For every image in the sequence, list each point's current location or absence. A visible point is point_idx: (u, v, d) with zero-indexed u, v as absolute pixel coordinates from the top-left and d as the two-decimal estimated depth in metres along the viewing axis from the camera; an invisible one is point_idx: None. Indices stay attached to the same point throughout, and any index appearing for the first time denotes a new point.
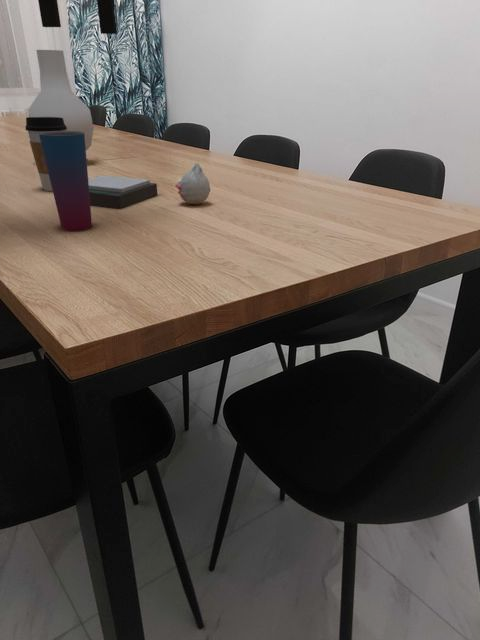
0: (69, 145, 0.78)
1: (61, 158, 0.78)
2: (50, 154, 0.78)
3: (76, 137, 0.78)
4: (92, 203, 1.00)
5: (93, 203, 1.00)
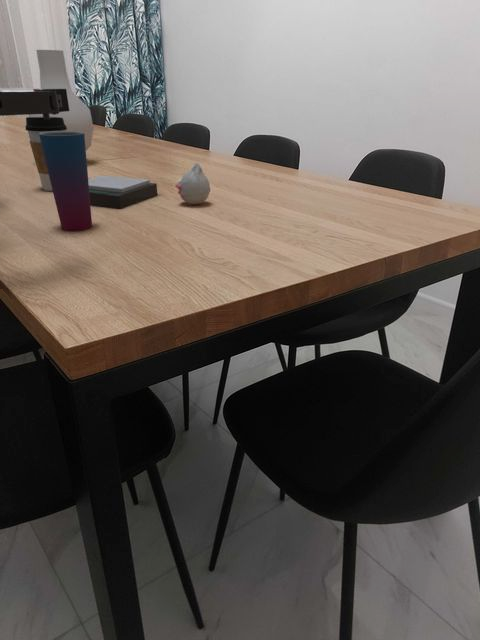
0: (69, 145, 0.78)
1: (61, 158, 0.78)
2: (50, 154, 0.78)
3: (76, 137, 0.78)
4: (92, 203, 1.00)
5: (93, 203, 1.00)
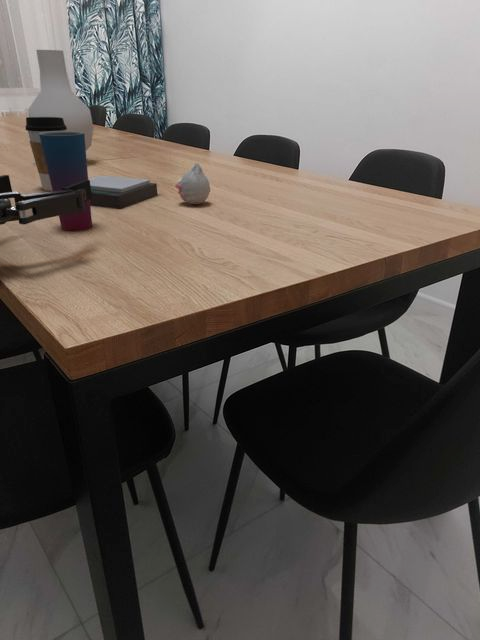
0: (69, 145, 0.78)
1: (61, 158, 0.78)
2: (50, 154, 0.78)
3: (76, 137, 0.78)
4: (92, 203, 1.00)
5: (93, 203, 1.00)
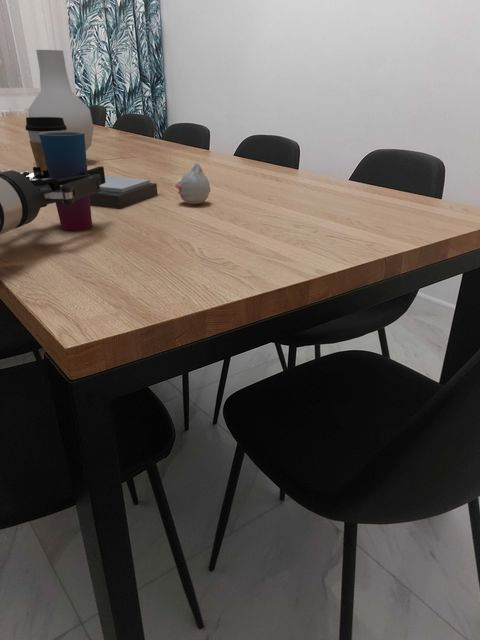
0: (69, 145, 0.78)
1: (61, 158, 0.78)
2: (50, 154, 0.78)
3: (76, 137, 0.78)
4: (92, 203, 1.00)
5: (93, 203, 1.00)
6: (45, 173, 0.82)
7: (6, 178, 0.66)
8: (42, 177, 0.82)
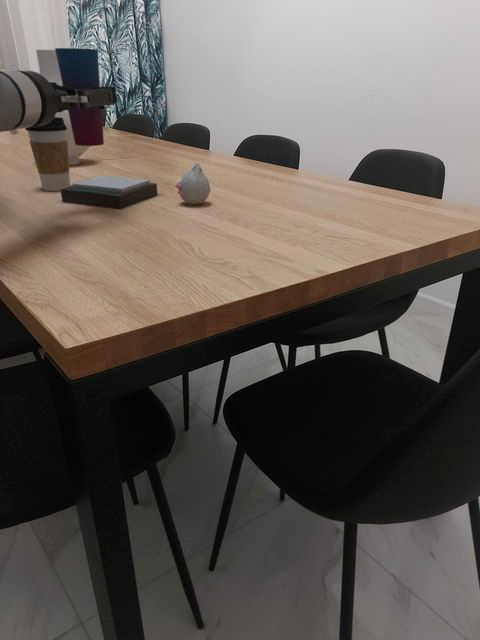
0: (83, 59, 0.83)
1: (76, 71, 0.84)
2: (66, 67, 0.83)
3: (90, 51, 0.83)
4: (92, 203, 1.00)
5: (93, 203, 1.00)
6: None
7: (27, 75, 0.71)
8: None
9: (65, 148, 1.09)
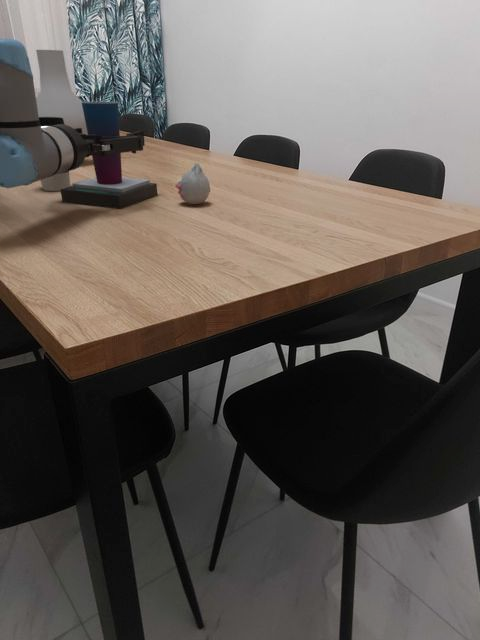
0: (106, 112, 0.96)
1: (100, 122, 0.96)
2: (91, 119, 0.96)
3: (112, 105, 0.96)
4: (92, 203, 1.00)
5: (93, 203, 1.00)
6: None
7: (62, 130, 0.84)
8: None
9: None
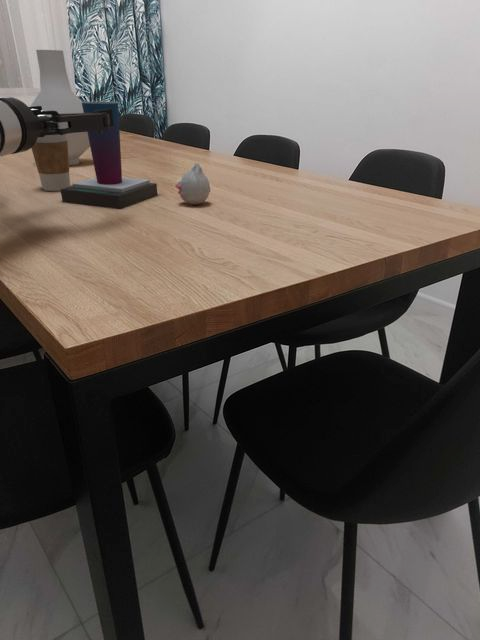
0: None
1: None
2: None
3: (112, 105, 0.96)
4: (92, 203, 1.00)
5: (93, 203, 1.00)
6: None
7: (7, 103, 0.70)
8: None
9: (65, 148, 1.09)
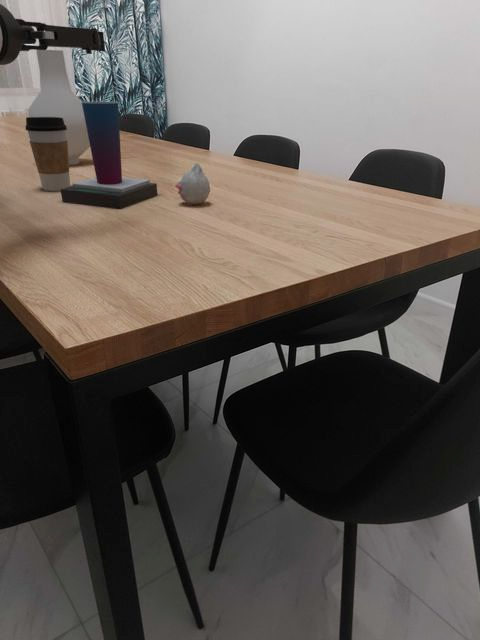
0: (106, 112, 0.96)
1: (100, 122, 0.96)
2: (91, 119, 0.96)
3: (112, 105, 0.96)
4: (92, 203, 1.00)
5: (93, 203, 1.00)
6: None
7: None
8: None
9: (65, 148, 1.09)
